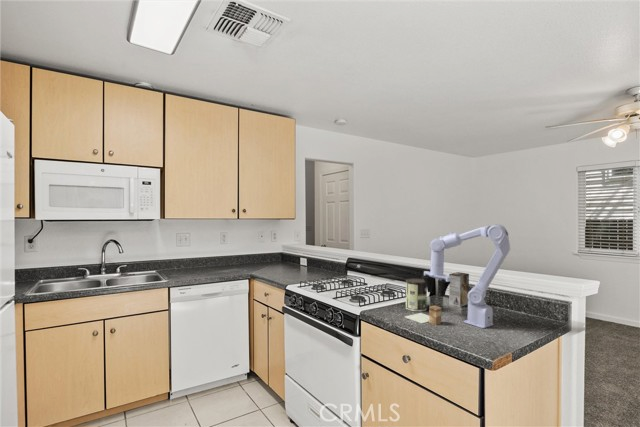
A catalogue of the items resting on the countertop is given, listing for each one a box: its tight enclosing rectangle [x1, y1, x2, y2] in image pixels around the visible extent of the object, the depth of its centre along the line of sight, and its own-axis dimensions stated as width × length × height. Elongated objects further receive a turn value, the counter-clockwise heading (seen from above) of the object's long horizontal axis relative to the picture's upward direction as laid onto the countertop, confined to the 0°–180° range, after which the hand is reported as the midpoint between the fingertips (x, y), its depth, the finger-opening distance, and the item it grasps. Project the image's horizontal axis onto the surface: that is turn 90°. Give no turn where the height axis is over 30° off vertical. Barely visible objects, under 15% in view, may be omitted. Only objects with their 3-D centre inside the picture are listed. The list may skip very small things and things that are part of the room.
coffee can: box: [405, 277, 428, 313], centre depth 170 cm, size 10×10×14 cm
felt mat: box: [404, 312, 429, 324], centre depth 155 cm, size 10×11×1 cm
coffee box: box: [448, 271, 470, 308], centre depth 178 cm, size 9×6×16 cm
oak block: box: [428, 305, 442, 326], centre depth 148 cm, size 4×4×7 cm
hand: (436, 293), depth 158 cm, fingers open, 7 cm apart
